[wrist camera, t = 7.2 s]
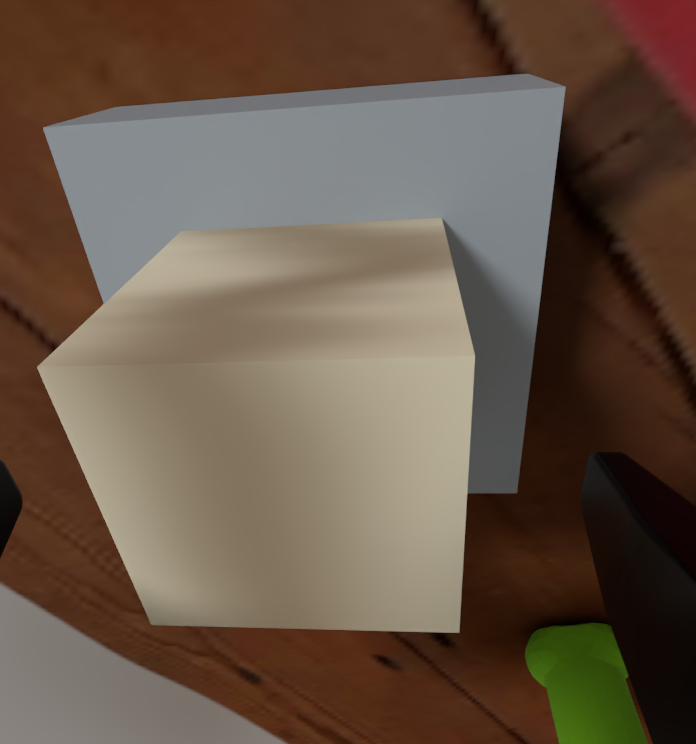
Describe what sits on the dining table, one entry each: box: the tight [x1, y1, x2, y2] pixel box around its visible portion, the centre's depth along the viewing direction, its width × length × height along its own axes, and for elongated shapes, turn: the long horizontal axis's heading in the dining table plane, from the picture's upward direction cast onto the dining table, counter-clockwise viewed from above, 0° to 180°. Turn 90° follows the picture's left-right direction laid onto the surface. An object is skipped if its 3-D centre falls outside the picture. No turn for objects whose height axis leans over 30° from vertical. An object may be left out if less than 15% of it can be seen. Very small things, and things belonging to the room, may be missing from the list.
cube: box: [37, 218, 475, 633], centre depth 9 cm, size 5×5×5 cm
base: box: [43, 74, 566, 493], centre depth 13 cm, size 9×9×3 cm
